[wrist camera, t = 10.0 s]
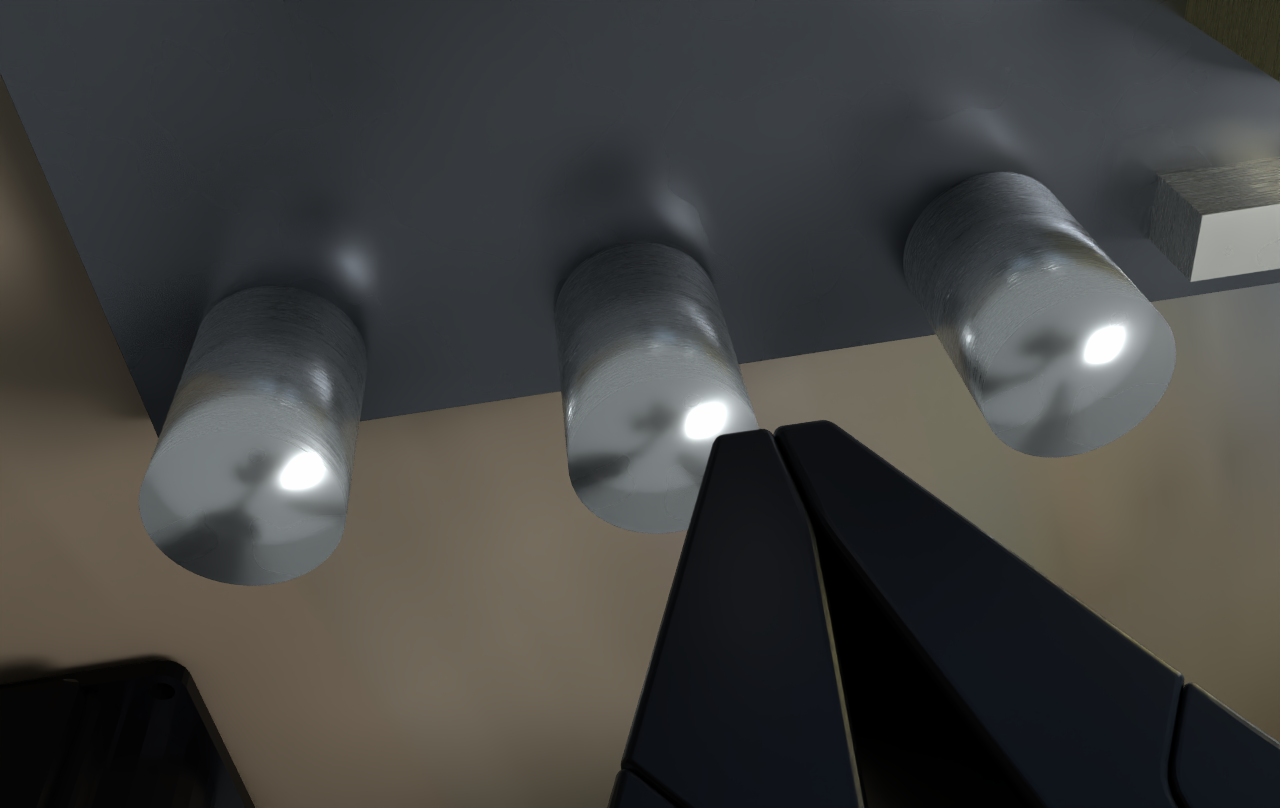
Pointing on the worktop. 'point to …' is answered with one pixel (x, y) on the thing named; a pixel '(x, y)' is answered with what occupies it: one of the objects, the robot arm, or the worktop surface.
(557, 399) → the worktop surface
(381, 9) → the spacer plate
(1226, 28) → the hex nut
